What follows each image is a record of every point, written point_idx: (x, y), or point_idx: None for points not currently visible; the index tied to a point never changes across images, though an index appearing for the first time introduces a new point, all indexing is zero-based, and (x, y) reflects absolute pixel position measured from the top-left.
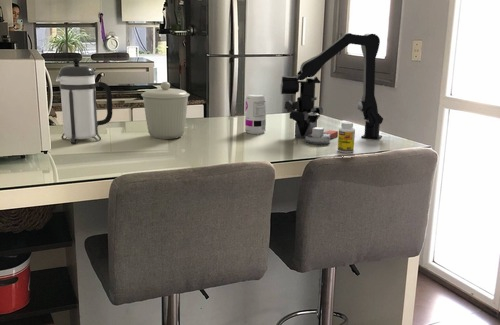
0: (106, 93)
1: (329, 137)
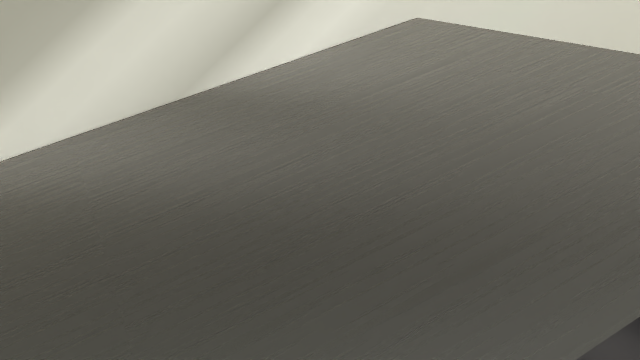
0: None
1: None
